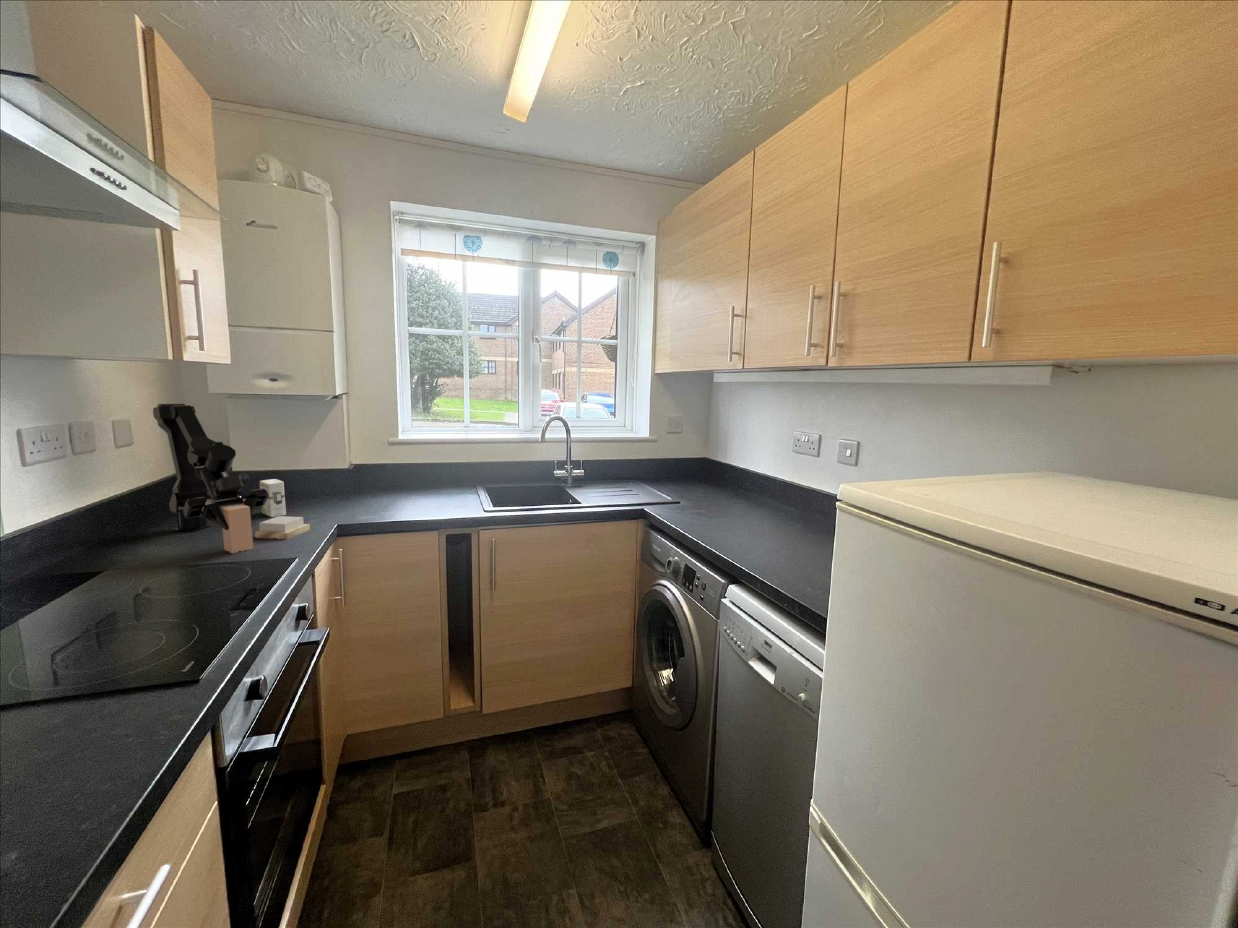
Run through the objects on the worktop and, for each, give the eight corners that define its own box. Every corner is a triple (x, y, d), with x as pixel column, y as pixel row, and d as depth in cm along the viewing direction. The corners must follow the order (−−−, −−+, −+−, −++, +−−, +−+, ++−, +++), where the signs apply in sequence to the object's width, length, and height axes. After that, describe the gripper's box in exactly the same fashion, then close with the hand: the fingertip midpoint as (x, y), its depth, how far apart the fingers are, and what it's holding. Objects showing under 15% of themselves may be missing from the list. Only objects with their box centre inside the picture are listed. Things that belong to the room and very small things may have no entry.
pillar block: (224, 549, 141) (220, 507, 139) (245, 545, 145) (241, 504, 143) (232, 553, 138) (228, 510, 137) (253, 548, 143) (249, 506, 141)
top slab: (260, 530, 153) (259, 522, 153) (279, 523, 161) (278, 516, 161) (285, 532, 153) (284, 524, 152) (303, 525, 160) (303, 517, 160)
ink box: (261, 513, 180) (258, 480, 178) (277, 510, 184) (274, 478, 182) (270, 517, 175) (268, 483, 173) (287, 514, 179) (284, 481, 177)
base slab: (255, 539, 153) (254, 531, 152) (280, 530, 163) (279, 522, 162) (287, 541, 152) (286, 533, 152) (310, 531, 162) (309, 524, 161)
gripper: (182, 468, 133) (204, 517, 128) (263, 461, 148) (284, 503, 144) (174, 494, 138) (194, 541, 134) (253, 484, 154) (273, 526, 149)
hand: (239, 527), depth 140 cm, fingers closed on pillar block, 5 cm apart
